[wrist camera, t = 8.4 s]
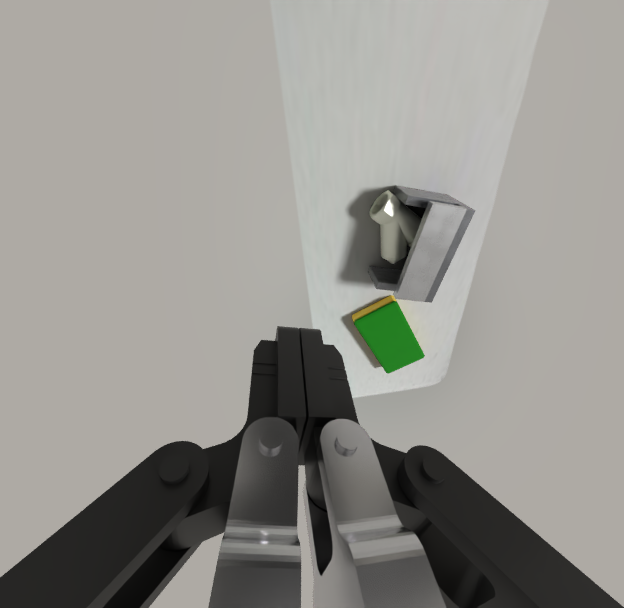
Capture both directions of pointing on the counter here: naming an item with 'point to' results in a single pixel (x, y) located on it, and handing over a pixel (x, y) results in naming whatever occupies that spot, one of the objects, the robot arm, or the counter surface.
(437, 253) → the bracket
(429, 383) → the counter surface
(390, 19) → the counter surface
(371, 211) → the pipe fitting
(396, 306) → the dish sponge
